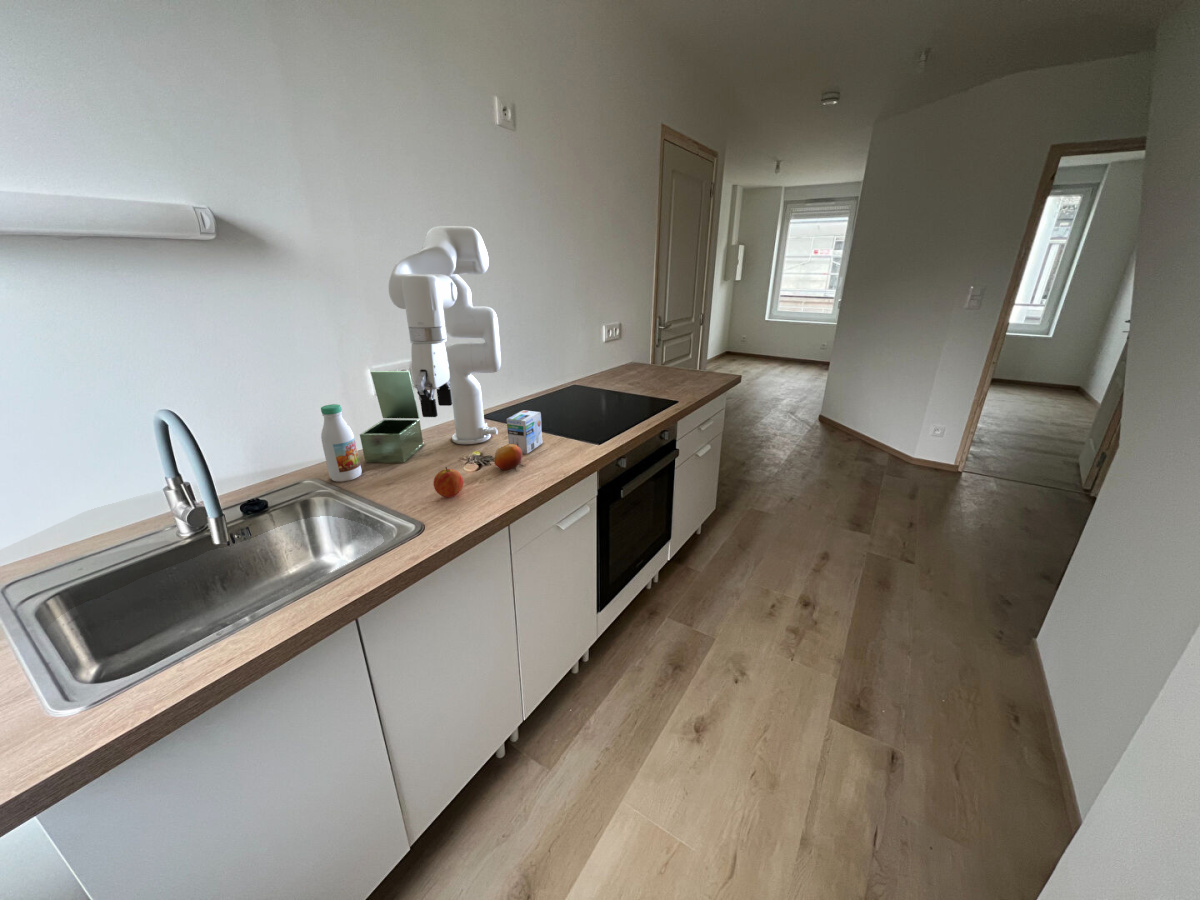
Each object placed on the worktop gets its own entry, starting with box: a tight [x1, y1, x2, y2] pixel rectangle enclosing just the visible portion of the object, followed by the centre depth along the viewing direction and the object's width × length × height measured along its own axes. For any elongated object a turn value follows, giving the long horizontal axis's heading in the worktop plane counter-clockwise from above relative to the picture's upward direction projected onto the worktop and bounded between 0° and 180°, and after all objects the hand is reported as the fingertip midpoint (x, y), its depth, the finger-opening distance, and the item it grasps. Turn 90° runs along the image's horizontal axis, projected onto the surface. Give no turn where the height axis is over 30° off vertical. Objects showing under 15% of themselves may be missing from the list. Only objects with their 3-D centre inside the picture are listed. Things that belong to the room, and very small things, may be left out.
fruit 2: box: [493, 443, 524, 472], centre depth 128 cm, size 8×8×8 cm
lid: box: [370, 370, 421, 420], centre depth 141 cm, size 15×12×5 cm
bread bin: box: [359, 418, 424, 464], centre depth 138 cm, size 15×12×9 cm
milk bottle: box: [320, 403, 363, 482], centre depth 120 cm, size 8×8×20 cm
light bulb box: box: [506, 409, 543, 455], centre depth 142 cm, size 11×7×11 cm, turn 160°
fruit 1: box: [433, 466, 464, 499], centre depth 111 cm, size 7×7×8 cm
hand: (438, 410), depth 105 cm, fingers open, 9 cm apart
